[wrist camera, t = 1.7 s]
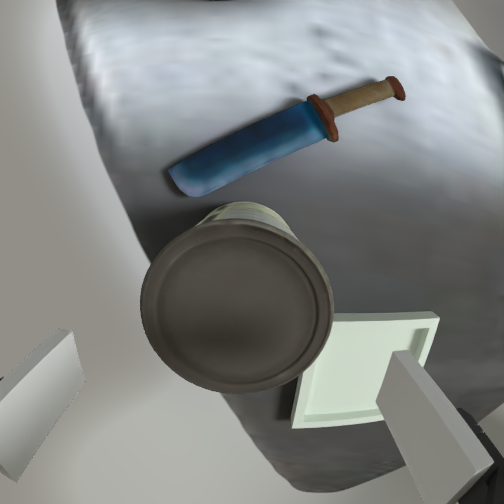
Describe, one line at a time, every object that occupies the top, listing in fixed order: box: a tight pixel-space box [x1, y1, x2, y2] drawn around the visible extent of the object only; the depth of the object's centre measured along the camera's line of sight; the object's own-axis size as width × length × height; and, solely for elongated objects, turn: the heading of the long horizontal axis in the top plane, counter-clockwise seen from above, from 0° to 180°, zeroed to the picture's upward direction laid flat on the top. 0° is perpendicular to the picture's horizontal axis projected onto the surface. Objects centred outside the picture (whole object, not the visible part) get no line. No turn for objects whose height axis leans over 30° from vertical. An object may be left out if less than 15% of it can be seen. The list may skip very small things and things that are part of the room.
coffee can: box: [140, 201, 334, 394], centre depth 21 cm, size 10×10×14 cm
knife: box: [168, 76, 406, 197], centre depth 24 cm, size 24×3×5 cm
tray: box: [291, 311, 440, 428], centre depth 31 cm, size 16×16×2 cm
